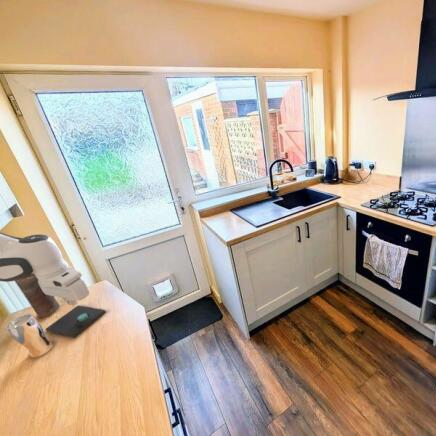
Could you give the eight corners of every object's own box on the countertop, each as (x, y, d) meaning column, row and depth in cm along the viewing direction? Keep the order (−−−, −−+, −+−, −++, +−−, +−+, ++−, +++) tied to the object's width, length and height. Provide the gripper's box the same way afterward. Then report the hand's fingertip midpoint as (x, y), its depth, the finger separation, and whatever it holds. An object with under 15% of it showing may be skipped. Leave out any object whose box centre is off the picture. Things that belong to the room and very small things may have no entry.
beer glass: (35, 346, 92) (12, 317, 86) (58, 339, 94) (37, 310, 88) (25, 362, 86) (-1, 332, 80) (49, 354, 88) (25, 324, 82)
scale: (46, 331, 99) (42, 326, 97) (79, 307, 110) (76, 302, 108) (75, 338, 94) (71, 332, 93) (106, 312, 105) (103, 307, 104)
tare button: (77, 321, 98) (75, 318, 98) (84, 315, 101) (83, 312, 100) (82, 322, 97) (80, 319, 97) (90, 316, 100) (88, 313, 99)
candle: (54, 304, 114) (31, 268, 105) (64, 306, 111) (41, 270, 103) (35, 316, 107) (8, 280, 99) (45, 319, 105) (19, 282, 97)
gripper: (26, 277, 90) (45, 306, 96) (65, 284, 84) (83, 314, 90) (46, 267, 95) (63, 295, 101) (83, 272, 90) (99, 301, 95)
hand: (73, 304), depth 96 cm, fingers closed
